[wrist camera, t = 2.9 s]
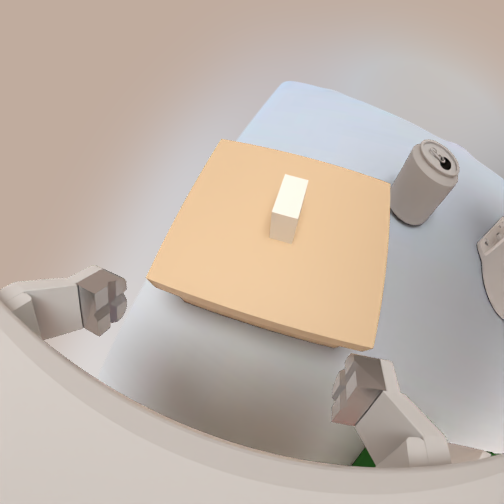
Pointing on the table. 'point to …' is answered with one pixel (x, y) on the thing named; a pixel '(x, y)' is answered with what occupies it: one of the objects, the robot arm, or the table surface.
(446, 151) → the can
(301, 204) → the carton lid
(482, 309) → the table surface
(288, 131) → the table surface
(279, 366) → the table surface
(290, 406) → the table surface
